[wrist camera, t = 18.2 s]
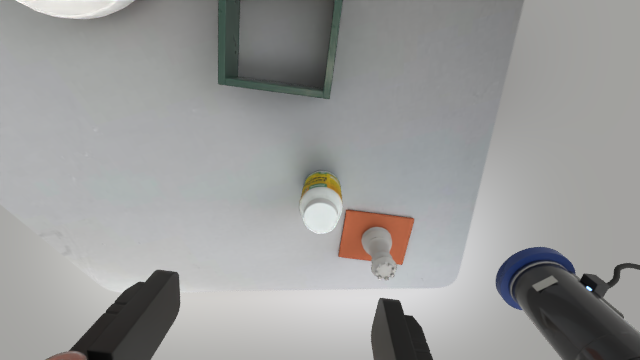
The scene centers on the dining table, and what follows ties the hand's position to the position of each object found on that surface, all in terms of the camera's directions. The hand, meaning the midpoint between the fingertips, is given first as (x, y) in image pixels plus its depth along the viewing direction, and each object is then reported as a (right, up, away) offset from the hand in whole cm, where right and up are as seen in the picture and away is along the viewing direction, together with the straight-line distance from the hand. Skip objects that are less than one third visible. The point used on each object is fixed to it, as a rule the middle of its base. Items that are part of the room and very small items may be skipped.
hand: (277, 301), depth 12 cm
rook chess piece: (+10, -4, +33) cm, 35 cm away
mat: (+10, -4, +33) cm, 35 cm away
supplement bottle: (+2, +4, +31) cm, 31 cm away
